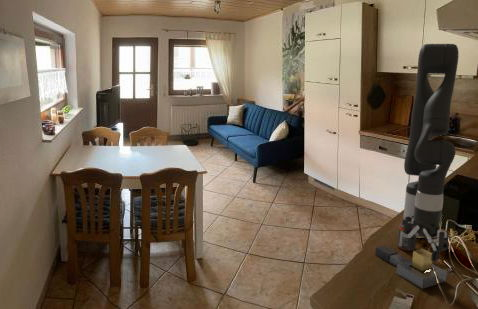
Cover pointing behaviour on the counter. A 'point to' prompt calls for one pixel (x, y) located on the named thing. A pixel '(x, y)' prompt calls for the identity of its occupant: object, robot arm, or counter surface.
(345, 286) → the counter surface
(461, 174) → the counter surface
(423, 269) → the peg
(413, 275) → the grey square paddle
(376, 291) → the counter surface
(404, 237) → the supplement bottle
